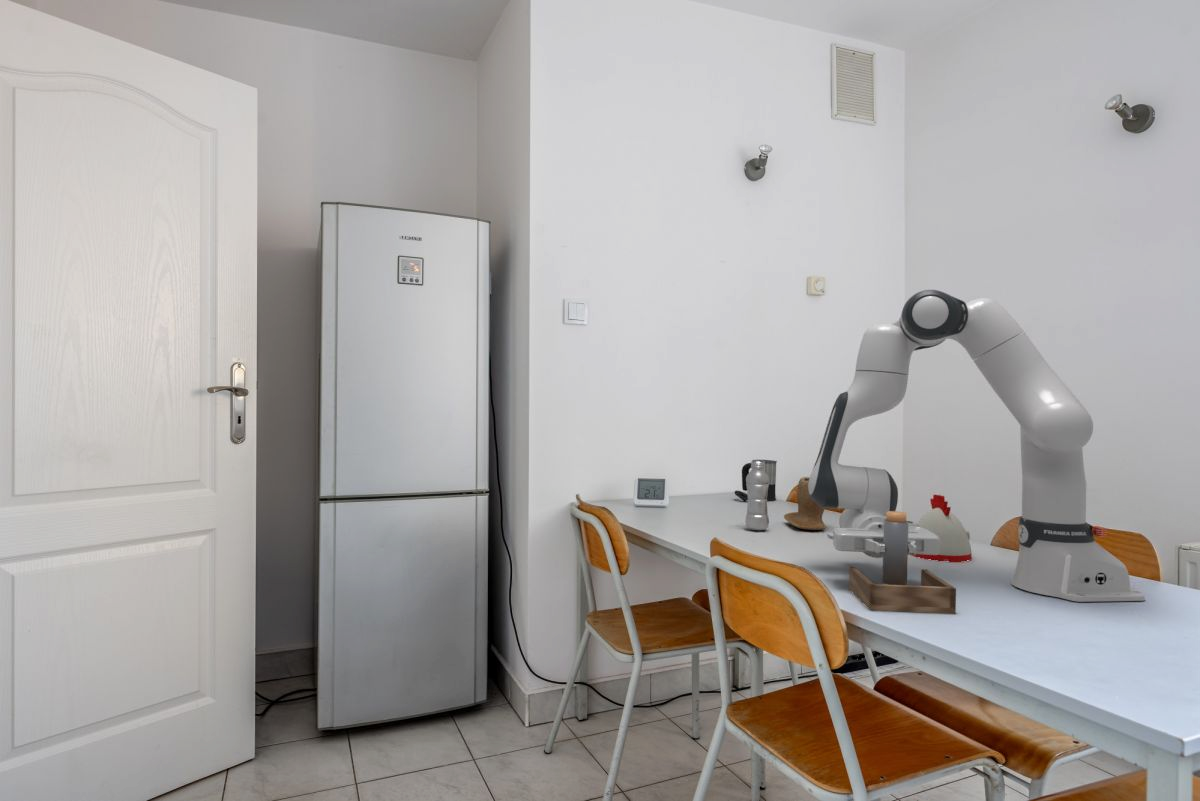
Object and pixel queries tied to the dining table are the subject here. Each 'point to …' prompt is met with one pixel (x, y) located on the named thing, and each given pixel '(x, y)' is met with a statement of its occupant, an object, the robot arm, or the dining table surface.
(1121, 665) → the dining table surface
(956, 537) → the kitchen timer
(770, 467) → the milk frother
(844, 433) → the robot arm
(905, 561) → the grey bottle with cap
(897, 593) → the box
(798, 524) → the brown flared piece
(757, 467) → the plastic bottle
